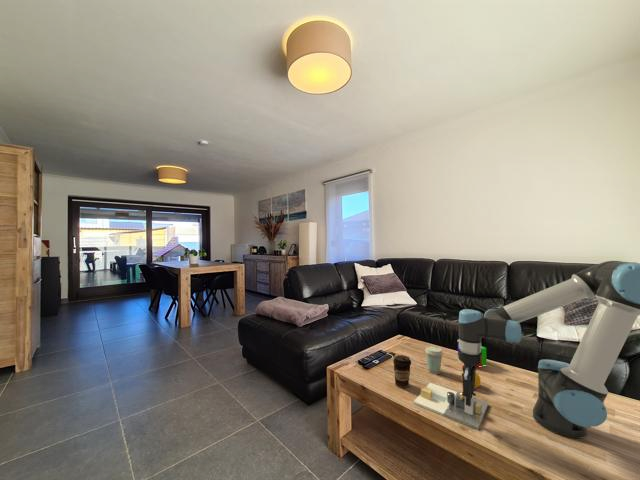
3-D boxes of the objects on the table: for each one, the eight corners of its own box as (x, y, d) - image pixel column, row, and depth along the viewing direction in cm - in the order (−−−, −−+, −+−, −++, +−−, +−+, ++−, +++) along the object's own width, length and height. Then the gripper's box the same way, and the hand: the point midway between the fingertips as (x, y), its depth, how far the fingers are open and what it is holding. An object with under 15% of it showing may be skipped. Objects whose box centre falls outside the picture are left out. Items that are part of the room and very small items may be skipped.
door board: (457, 394, 119) (457, 385, 119) (443, 416, 104) (443, 405, 104) (430, 384, 127) (430, 376, 127) (413, 403, 112) (413, 394, 112)
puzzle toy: (457, 360, 153) (457, 343, 153) (471, 358, 156) (471, 341, 156) (472, 368, 144) (472, 350, 144) (486, 366, 147) (486, 348, 147)
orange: (484, 390, 122) (484, 374, 122) (467, 390, 122) (467, 374, 122) (474, 381, 130) (474, 366, 130) (458, 381, 130) (458, 366, 130)
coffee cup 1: (412, 390, 122) (412, 362, 122) (393, 388, 124) (393, 361, 124) (410, 381, 130) (410, 354, 131) (392, 379, 132) (392, 353, 132)
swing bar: (455, 405, 109) (455, 392, 109) (457, 402, 111) (457, 389, 111) (480, 414, 103) (480, 401, 103) (481, 410, 106) (481, 397, 106)
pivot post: (455, 404, 112) (455, 393, 112) (453, 407, 110) (453, 396, 110) (448, 401, 114) (448, 391, 114) (446, 404, 112) (446, 393, 112)
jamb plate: (488, 405, 111) (488, 402, 111) (478, 430, 96) (478, 427, 96) (457, 394, 119) (457, 392, 119) (443, 416, 104) (443, 413, 104)
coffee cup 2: (441, 377, 134) (441, 353, 135) (423, 372, 139) (423, 349, 139) (443, 370, 142) (443, 347, 142) (426, 366, 146) (426, 344, 146)
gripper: (463, 343, 109) (462, 400, 109) (454, 353, 99) (453, 416, 99) (484, 348, 104) (483, 408, 104) (477, 359, 94) (476, 426, 94)
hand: (468, 412), depth 101 cm, fingers closed
